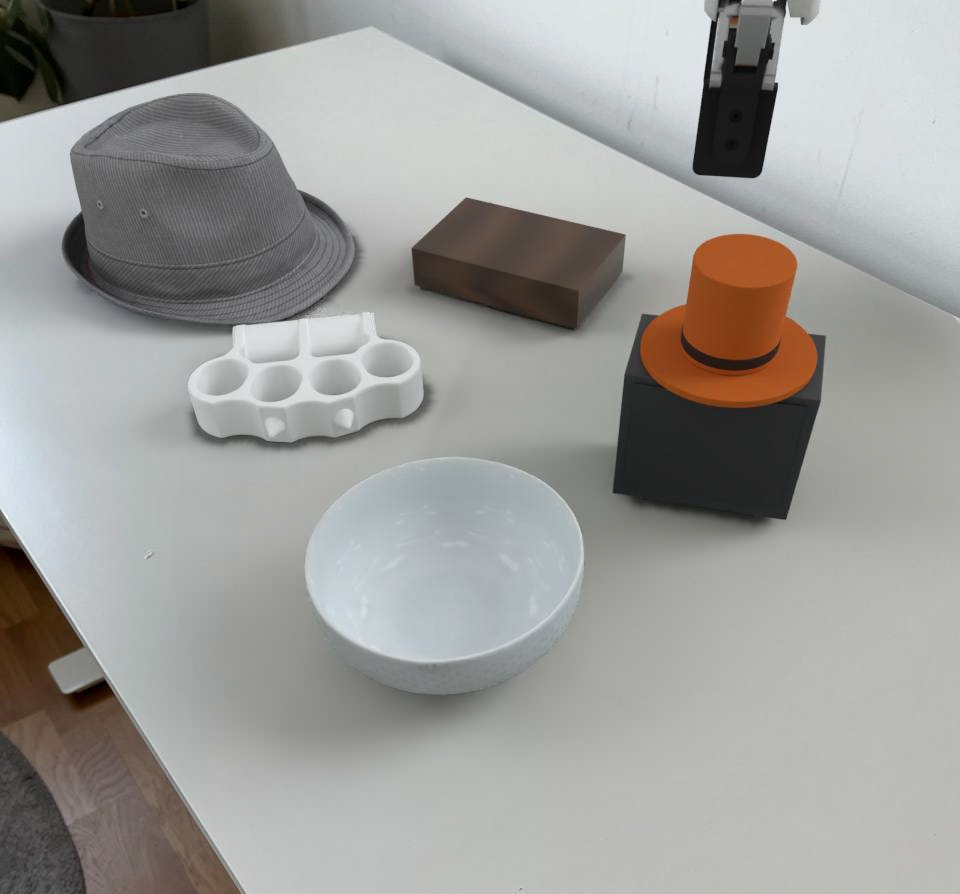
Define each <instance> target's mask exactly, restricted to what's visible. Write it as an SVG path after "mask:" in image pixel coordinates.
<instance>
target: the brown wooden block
mask: <svg viewBox="0 0 960 894" xmlns="http://www.w3.org/2000/svg"><path fill="white" fill-rule="evenodd" d="M626 237H627V234H626V233H621V232H617V231H614V230H613V231H612V230H609V229H605V228H600V227H595V226H592V225H588V224H584V223H583V224H582V223H578V222H575V221H569V220H567V219H562V218H557V217H553V216H550V215H549V216H548V215H544V214H540V213H535V212H531V211H526V210H522V209H519V208H514V207H509V206H505V205H501V204H496V203H493V202H488V201H484V200H479V199H476V198H471V197H467V196H466V197H465V198H463V199H462V200H461V201H460V202H459V203H458V204H457V205H456V206H455V207H453V209H452V210H450V211H449V212H448V213H447V214H446V215H444V217H443V218H442V219H441V220H440V221H439V222H437V224H435V226H434V227H432V228H431V229H430V230H429V231H428V232H426V234H425V235H424V236H422V237H421V239H420V240H418V241H417V242H416V243H415V244H414V245H413V246H412V247H411V258H412V270H413V280H414V281H413V283H414V286H416V287H419V288H420V289H422V290H426V291H430V292H434V293H437V294H441V295H445V296H448V297H451V298H455V299H459V300H463V301H467V302H471V303H474V304H478V305H482V306H486V307H489V308H492V309H496V310H500V311H504V312H507V313H512V314H515V315H518V316H523V317H526V318H529V319H534V320H537V321H541V322H544V323H547V324H548V323H549V324H552V325H555V326H559V327H563V328H566V329H571V330H578V328H579V327H580V325H581V324H582V323H583V322H584V320H586V318H587V317H588V316H589V315H590V313H591V312H592V311H593V310H594V309H595V307H596V306H597V305H598V303H599V302H600V301H601V300H602V298H603V297H604V296H605V294H607V292H608V291H609V290H610V288H611V287H612V286H613V285H614V284H615V282H616V280H617V279H619V277H620V276H621V274H622V273H623V270H624V262H625V261H624V259H625V250H626Z"/></svg>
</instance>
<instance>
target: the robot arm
mask: <svg viewBox="0 0 960 894" xmlns="http://www.w3.org/2000/svg"><path fill="white" fill-rule="evenodd" d="M703 1H704V2H703V6H704V7H703V11H704V13H705V14H706V15H707V17H708V18H709V19H710V26H709V27H710V28H709V34H708V41H707V49H706V57H705V65H704V72H703V85H702V91H701V92H702V93H701V100H700V106H699V114H698V115H699V116H698V120H697V121H698V122H697V130H696V136H695V145H694V152H693V159H692V165H691V166H692V172H693V173H694V174H695V175H697V176H704V177H705V176H706V177H721V178H740V179H756V178H759V176H761V175H762V172H763V169H764V164H765V158H766V152H767V148H768V143H769V139H770V138H769V137H770V132H771V127H772V123H773V122H772V121H773V117H774V111H775V106H776V100H777V95H778V90H779V82H776V78H777V71H778V64H779V57H780V51H781V45H782V37H783V30H784V24H785V18H786V15H787V8H788V13H789V18H793V19H794V18H795V19H796V18H798V19H799V21H800V25H801V26H808V25H809V24H811V23H812V22H813V21H814V20H815V19H816V18H817V17H818V16H819V13H820V8H821V1H822V0H703Z"/></svg>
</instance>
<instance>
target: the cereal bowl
mask: <svg viewBox="0 0 960 894" xmlns="http://www.w3.org/2000/svg"><path fill="white" fill-rule="evenodd" d="M584 545H585V544H584V538H583V533H582V530H581V527H580V524H579V522H578V519H577V518H576V515H575V513H574V512H573V511H572V509H571V507H570V505H568V503H567V502H566V501H565V499H564V498H563V497H562V496H561V495H560V494H559V492H557V490H555V489H554V488H553V487H551V485H549V484H547V483H546V482H545V481H543V480H542V479H540V478H538V477H537V476H535V475H532V474H531V473H529V472H527V471H526V470H525V471H524V470H523V469H520V468H517V467H514V466H512V465H510V464H505V463H502V462H498V461H495V460H494V461H493V460H489V459H483V458H476V457H475V458H474V457H466V456H442V457H441V456H440V457H432V458H425V459H419V460H413V461H409V462H406V463H402V464H398V465H395V466H392V467H389V468H386V469H384V470H381V471H379V472H377V473H375V474H372V475H370V476H368V477H366V478H364V479H363V480H361V481H360V482H358V483H356V484H355V485H353V486H352V487H350V488H349V489H348V490H346V491H345V492H343V494H341V495H340V496H339V497H338V498H337V499H336V500H335V501H334V502H333V503H332V504H331V505H330V506H329V507H328V508H327V509H326V510H325V512H324V513H323V514H322V516H321V517H320V518H319V520H318V521H317V523H316V524H315V526H314V528H313V530H312V533H311V535H310V536H309V540H308V543H307V546H306V550H305V555H304V563H303V574H304V575H303V577H304V578H303V579H304V584H305V590H306V594H307V597H308V599H309V600H308V601H309V604H310V606H311V608H312V611H313V615H314V617H315V619H316V621H317V624H318V626H319V627H320V629H321V631H322V632H323V635H324V636H325V637H326V639H327V640H328V642H329V644H330V645H331V646H332V647H333V648H334V650H336V652H338V655H340V657H342V658H343V659H344V660H345V661H346V662H347V663H348V664H349V665H351V666H353V668H355V670H357V671H358V672H360V673H362V674H364V675H365V676H366V677H368V678H371V679H372V680H374V681H376V682H378V683H379V684H384V685H386V686H388V687H391V688H393V689H397V690H402V691H404V692H410V693H415V694H423V695H438V696H440V695H444V696H445V695H446V696H448V695H457V694H465V693H472V692H475V691H480V690H483V689H487V688H491V687H494V686H495V685H498V684H502V683H504V682H506V681H508V680H510V679H512V678H513V677H516V676H518V675H519V674H521V673H523V672H524V671H526V670H527V669H529V668H530V667H532V665H534V664H536V663H537V662H538V661H539V660H540V659H541V658H543V657H544V656H545V655H546V654H548V652H549V651H550V650H551V649H552V648H553V647H554V646H555V644H556V643H557V642H558V640H559V639H561V637H562V636H563V634H564V632H565V630H567V627H568V626H569V624H570V621H571V619H572V618H573V616H574V614H575V611H576V609H577V606H578V602H579V599H580V597H581V589H582V586H583V580H584V579H583V578H584V575H585V569H584V567H585V546H584Z"/></svg>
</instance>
